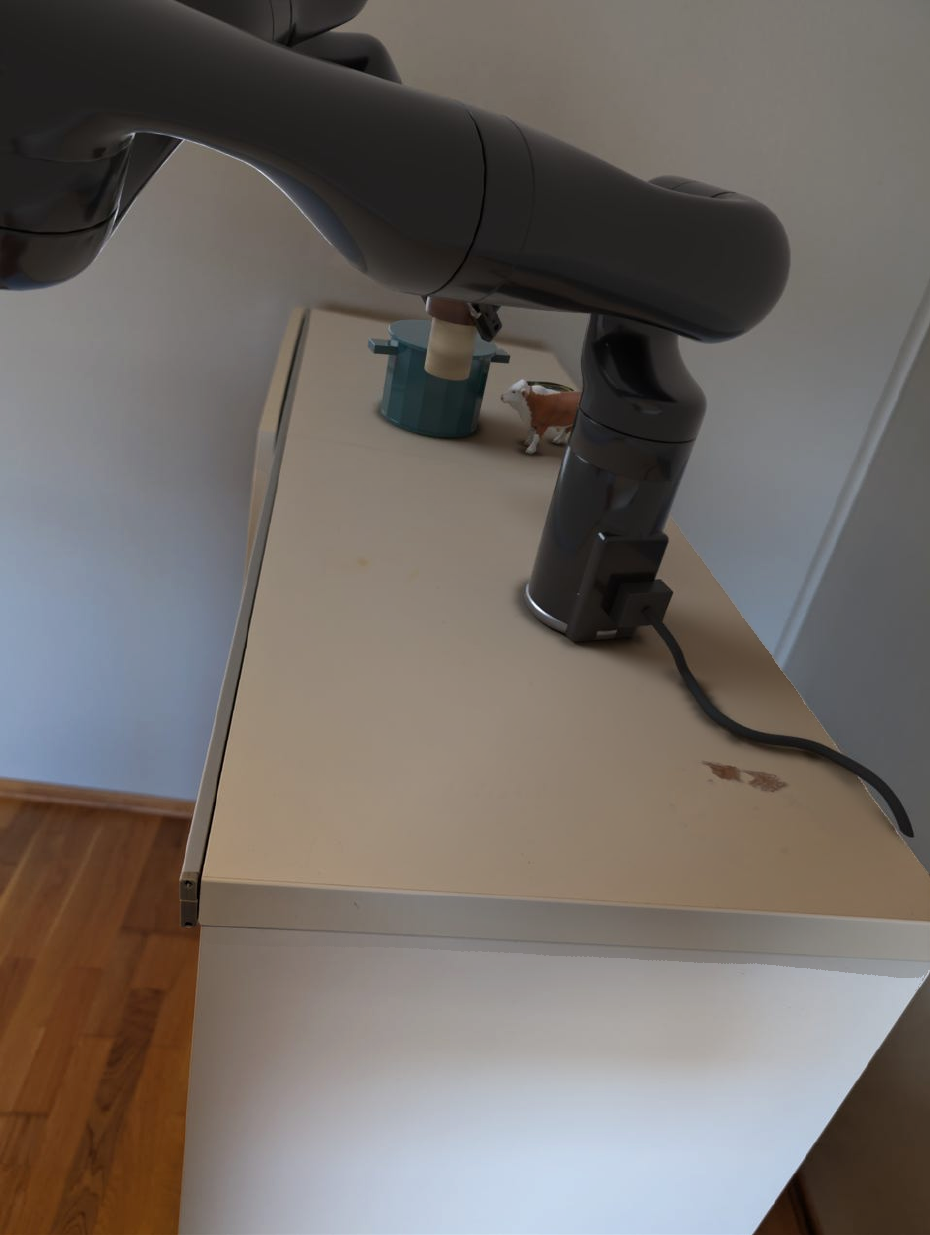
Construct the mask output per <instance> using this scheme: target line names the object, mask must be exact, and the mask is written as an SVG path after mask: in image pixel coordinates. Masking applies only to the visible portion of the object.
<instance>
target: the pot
mask: <svg viewBox="0 0 930 1235" xmlns="http://www.w3.org/2000/svg"><path fill="white" fill-rule="evenodd" d="M367 341H368V342H367V348H368V349H369V350H370V351H371V352H372V353H373V354H374V355H387V356H388V357H387V364H386V371H385V378H384V384H383V392H382V398H381V405H380V412H381V415H382V416H383V418H384V419H385V420H387V422H389V423H390V424H392V425H394V426H396V427H398V428H400V429H403V430H405V431H408V432H411V433H414V434H418V435H422V436H426V437H431V438H432V437H433V438H441V439H442V438H443V439H445V438H446V439H454V438H463V437H467V436H470V435H472V434H473V433H474V432H475V431H476V429H477V427H478V423H479V420H480V414H481V409H482V406H483V400H484V395H485V391H486V387H487V386H486V385H487V381H488V377H489V372H490V366H491V363H495V364H496V363H497V364H506V365H507V364H510V360H511V354H509V353H508V351H506V350H504V349H503V348H497V352H496V354H495V355H494V356H493V357H491V358H488V359H482V360H472V363H471V368H470V373H469V377H468V378H467V379H465V380H448V379H443V378H439V377H436V376H434V375H431V374H429V373H428V372H427V371H426V370H425V362H426V356H427V353H424V352H421V351H418V350H415V349H412V348H410V347H407V346H405V345H403V344H401V343H399V342H398V341H396V340H395V339H393V338H392V337H391V336H390V339H385V338H372V337H368V340H367Z"/></svg>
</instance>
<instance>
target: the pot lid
mask: <svg viewBox="0 0 930 1235" xmlns="http://www.w3.org/2000/svg"><path fill="white" fill-rule="evenodd" d="M431 325H432V320H428V319H414V318H413V319H410V318H409V319H400V320H396V321H393V322H391V323H390V324H389V326H388V330H387V331H388V335H389V336H390V338H391V337H392V338H393V339H395V340H396V341H398V342H399V343H401V344H403V345H405V346H407V347H410V348H412V349H415V350H418V351H421V352H424V353H427V349H428V343H429V337H430V331H431ZM497 349H498V345H497V344H496V343H495V342H494V341H493V340H492V341H491V342H487V341H484V340H482V339H481V337H480V334H479V332H477V337H476V342H475V348H474V353H473V358H472V360H482V359H488V358H491V357H493V356H494V355H495V354H496V352H497Z"/></svg>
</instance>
